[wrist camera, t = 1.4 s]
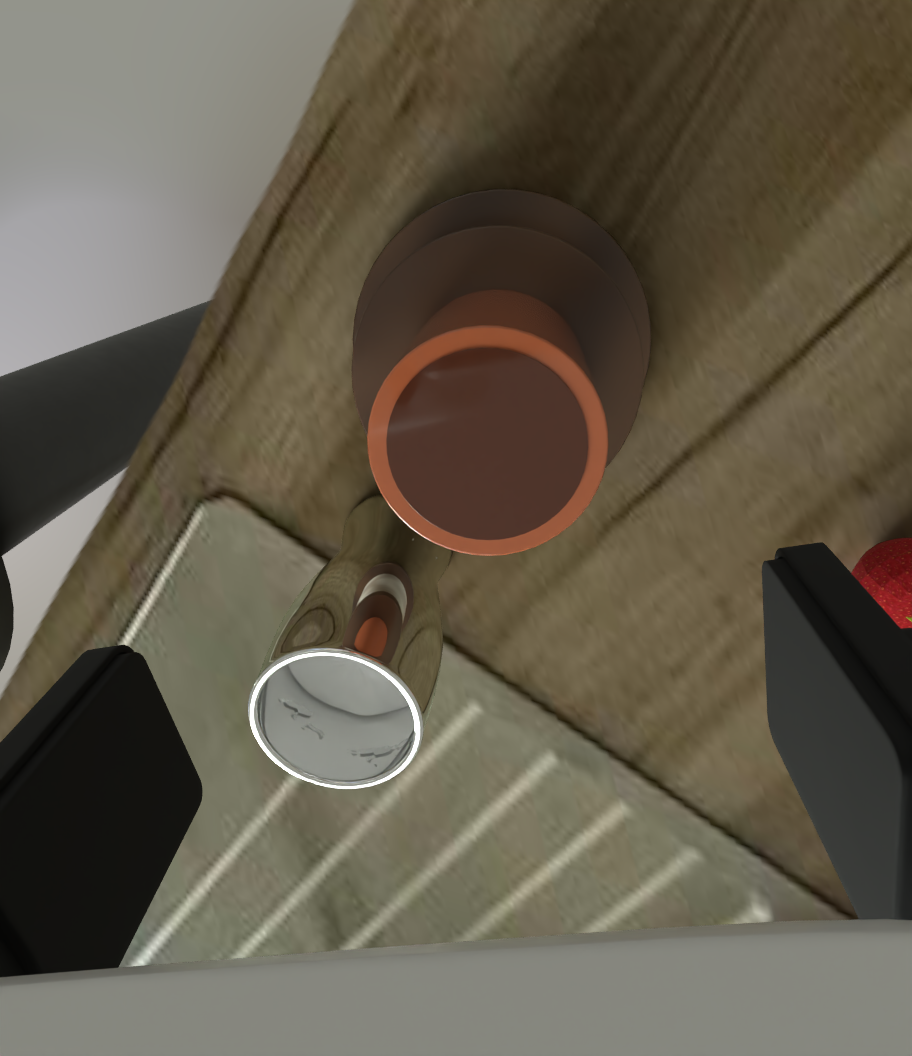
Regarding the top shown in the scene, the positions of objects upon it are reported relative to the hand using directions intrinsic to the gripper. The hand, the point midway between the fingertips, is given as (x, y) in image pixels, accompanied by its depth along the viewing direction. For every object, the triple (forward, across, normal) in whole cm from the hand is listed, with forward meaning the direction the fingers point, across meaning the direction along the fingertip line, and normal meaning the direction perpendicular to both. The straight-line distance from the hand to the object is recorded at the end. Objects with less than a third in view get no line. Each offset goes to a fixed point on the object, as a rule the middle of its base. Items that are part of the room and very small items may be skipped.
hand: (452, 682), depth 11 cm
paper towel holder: (+27, 0, 0) cm, 27 cm away
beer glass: (+27, +7, +10) cm, 30 cm away
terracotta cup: (+20, 0, 0) cm, 20 cm away
